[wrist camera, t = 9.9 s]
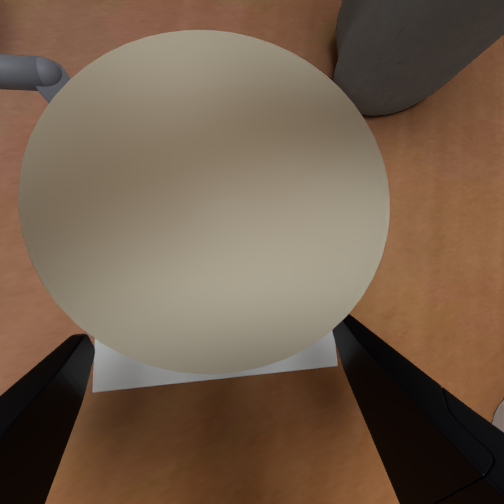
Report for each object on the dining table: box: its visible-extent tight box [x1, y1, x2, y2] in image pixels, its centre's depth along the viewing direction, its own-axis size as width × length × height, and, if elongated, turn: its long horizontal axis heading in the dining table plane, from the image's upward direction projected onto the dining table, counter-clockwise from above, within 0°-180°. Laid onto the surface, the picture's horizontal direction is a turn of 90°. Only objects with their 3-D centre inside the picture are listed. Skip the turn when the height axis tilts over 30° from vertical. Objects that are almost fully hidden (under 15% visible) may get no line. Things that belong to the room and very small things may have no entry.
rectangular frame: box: [0, 54, 338, 393], centre depth 12 cm, size 14×16×11 cm
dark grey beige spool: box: [19, 30, 390, 374], centre depth 11 cm, size 7×7×13 cm
